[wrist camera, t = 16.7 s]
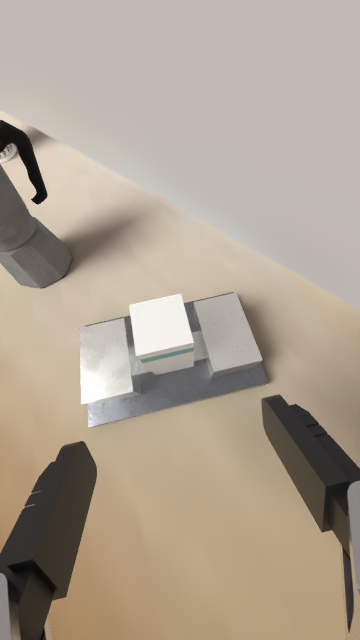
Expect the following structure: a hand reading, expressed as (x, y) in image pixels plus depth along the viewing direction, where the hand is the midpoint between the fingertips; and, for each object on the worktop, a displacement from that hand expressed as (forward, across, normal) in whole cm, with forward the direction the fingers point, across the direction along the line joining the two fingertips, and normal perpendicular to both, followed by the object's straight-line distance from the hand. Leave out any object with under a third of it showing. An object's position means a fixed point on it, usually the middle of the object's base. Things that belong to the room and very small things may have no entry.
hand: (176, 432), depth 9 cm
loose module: (+15, 0, +4) cm, 16 cm away
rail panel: (+16, 0, +5) cm, 17 cm away
